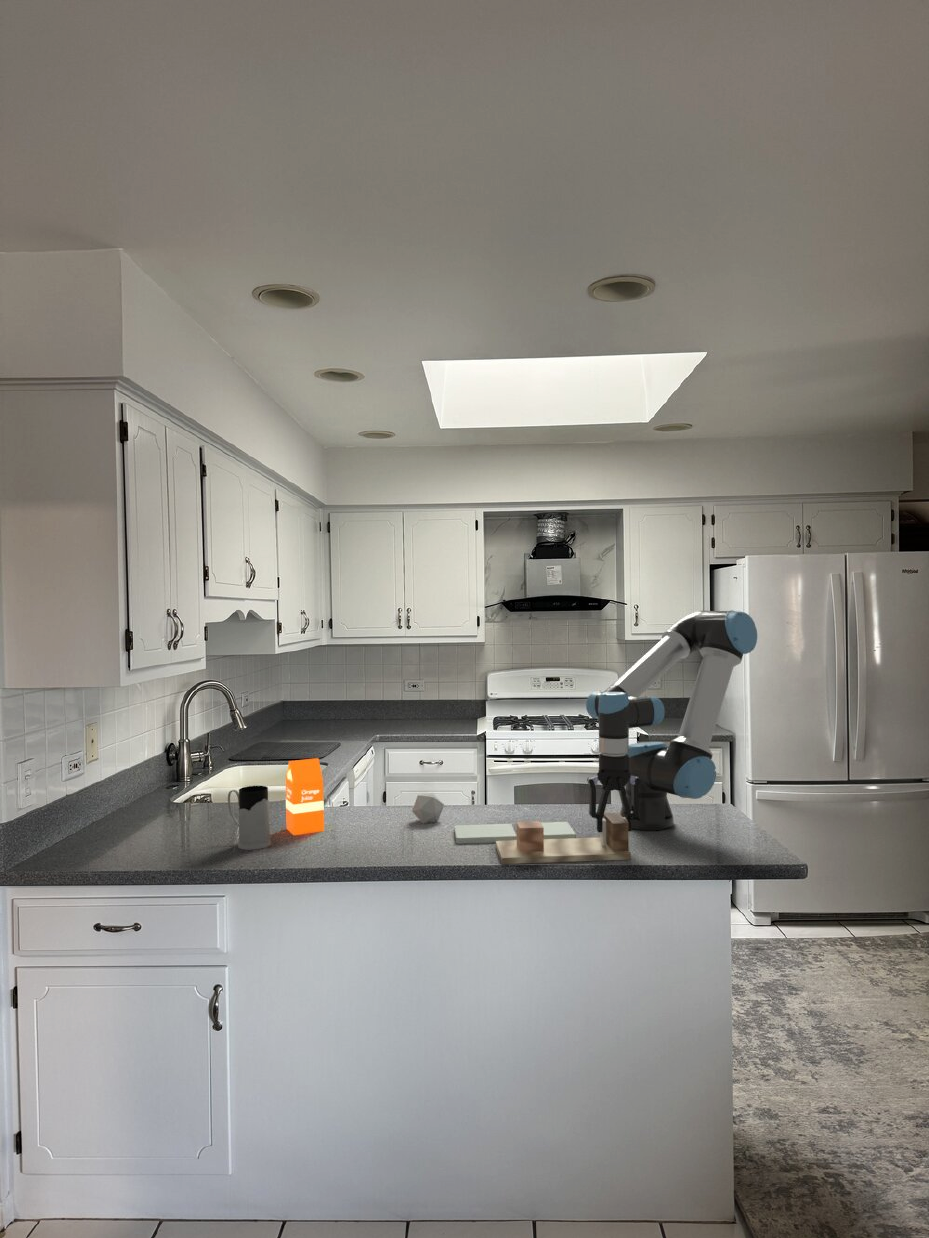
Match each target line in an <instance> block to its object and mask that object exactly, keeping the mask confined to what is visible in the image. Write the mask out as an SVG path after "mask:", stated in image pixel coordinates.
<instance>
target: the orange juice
mask: <svg viewBox="0 0 929 1238" xmlns="http://www.w3.org/2000/svg"><path fill="white" fill-rule="evenodd" d="M324 803H325V801H324V779H323V773H322V769H321V764H320V758H317V757H316V758H308V759H307V758H306V759H299V760H288V766H287V771H286V777H285V809H286V810H285V812H286V816H285V817H286V819H285V820H286V824H285V825H286V830H287V831H289V833H290V834H292V835H293V836H298V835H299V836H300V835H304V834H305V835H306V834H312V833H313V834H314V833H318V832H325V819H324V818H325V816H324V815H325V813H324V811H325V810H324V809H325V808H324V807H325V804H324Z"/></svg>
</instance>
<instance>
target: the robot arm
mask: <svg viewBox="0 0 929 1238" xmlns="http://www.w3.org/2000/svg"><path fill="white" fill-rule="evenodd" d="M757 630H758V629H757V626H756V624H755V621H754V620H753V618H752V617H751V615H749V614H748V613H746V612H744V611H739V610H738V611H737V610H734V609H733V610H699V611H695V612H692V613H690V614H688V615H686V616H684V617H682V618H680V619H679V620H678V621H676V622H675V623H674V624H672V625H671V626H669V628H667V629H666V630H665V631H664V632H663V633H662V635H661V639H660V640H659V641H658V642H657V643H656V644H655V645H654V646H653V647H652V648H650V650H648V651H647V652H646V653H645V654H644V655H643V656H642V657H640V659H638V660H637V661H636V662H635V663H634V664H633V665H632V666H631V667H629V668H628V670H626V671H625V672H624V673H623V674H622V675H621V676H619V678H617V679H616V680H615V681H614V682H613V683H612V684H611V685H610V686H609V687H607V688H606V689H605V690H604V691H594V692H592V693H590V694H589V695H588V697H587V699H586V702H585V709H586V712H587V714H588V715H589V717H591V718H593V719H596V720H598V752H599V754H598V771H597V774H596V775H595V776H593V777H591V776H589V777H586V778H587V779H586V782H587V784H588V787H589V789H588V791H589V792H588V793H589V794H588V795H589V796H588V797H589V800H588V801H589V802H588V805H589V806H588V813H589V815H590V817H591V818H593V819H595V820H596V831H597V833H600V837H601V844H602V846H606V820H605V819H604V818H603V816H604V813H606V812H605V811H606V809H607V804H608V801H609V800H608V799H609V796H610V793H611V791H618V795H619V798H620V803H621V809H620V811H619V814H620V815H621V816H622V817H623V818H624V819H625V820H626V821H627V822H628V832H631V831H632V829H634V830H641V831H660V830H667V829H669V828H670V829H671V828H673V826H674V815H673V812H672V808H671V805H670V803H669V800H668V795H669V794H671V795H674V796H678V797H680V798H681V799H691V800H697V799H701V798H703V797H704V796H706V795H707V794H709V792H710V791H711V790H712V788H713V787H714V784H715V783H716V778H717V771H716V769H717V766H716V764H715V762H714V761H713V760H712V759H713V755H714V754H713V752H712V750H711V749H710V745H711V741H712V739H713V736H714V731H715V730H716V725H717V722H718V718H719V715H720V713H721V709H722V707H723V702H724V699H725V696H726V693H727V691H728V690H727V689H728V687H729V682H730V680H731V676H732V673H733V670H734V667H736V666H738V665H740V664H741V662H742V661H743V657H744V655H746V654H747V655H748V654H751V652H752V651H754V650H755V648H756V646H757V643H758V631H757ZM694 652H699V654H700V655H701V657H702V660H701V663H700V666H699V669H698V673H697V675H696V679H695V682H694V684H693V687H692V691H691V694H690V696H689V701H688V704H687V707H686V710H685V714H684V716H683V720H682V723H681V726H680V728H679V732H678V735H677V737H676V738H674V739H672V740H670V742H669V746H667V743H666V742H664V741H646V742H645V741H644V742H637V743H631V744H629V743H630V742H629V741H630V740H629V739H630V738H629V737H630V734H629V733H630V729H633V728H641V727H642V728H643V727H652V726H655V725H658V724H660V723H662V721H663V720H664V717H665V713H666V712H665V706H664V704H663V702H662V700H661V699H660V698H658V697H657V696H646V695H645V696H643V697H642V696H641V695H643V694H644V693H645V692H646V691H647V690H648V689H649V688H650V687H651V686H652V685H654V684H655V682H656V681H658V680H659V679H660V678H661V677H663V675H664V674H666V672H667V671H669V669H671V668H672V667H673V665H675V664H676V663H677V662H679V660H680V659H686V658H687V657H689V655H691V654H692V653H694ZM598 781H599V782H600V784H601V785H602V788H601V795H600V797H599V803H598V806H597V788H596V786H597V785H598Z"/></svg>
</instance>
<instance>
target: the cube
mask: <svg viewBox="0 0 929 1238" xmlns="http://www.w3.org/2000/svg"><path fill="white" fill-rule="evenodd" d="M541 823H542V821H541V820H529V821H528V820H527V821H525V820H524V821H516V836H517V846H518V849H519V851H520V852H539V851H544V827H543V826H542V824H541Z"/></svg>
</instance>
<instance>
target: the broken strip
mask: <svg viewBox="0 0 929 1238" xmlns="http://www.w3.org/2000/svg"><path fill="white" fill-rule="evenodd" d="M541 824H542V826H543V827H544V839H567V838H577V834H576V832H575V831H574V829H573V828H572V826H571V825H570V823H569V822H568V821H554V822H553V821H552V822H551V821H550V822H546V821H545V822H541ZM453 826H454V827H453V831H454V837H455V841H456V844H457V845H458V844H459V845H461V844H483V843H484V844H485V843H487V844H488V843H489V844H490V843H496V841H508V840H517V832H515V829H514V828H513V825H512V823H493V824H490V823H487V824H484V823H483V824H462V825H461V824H458V825H457V824H456V825H453Z"/></svg>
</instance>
